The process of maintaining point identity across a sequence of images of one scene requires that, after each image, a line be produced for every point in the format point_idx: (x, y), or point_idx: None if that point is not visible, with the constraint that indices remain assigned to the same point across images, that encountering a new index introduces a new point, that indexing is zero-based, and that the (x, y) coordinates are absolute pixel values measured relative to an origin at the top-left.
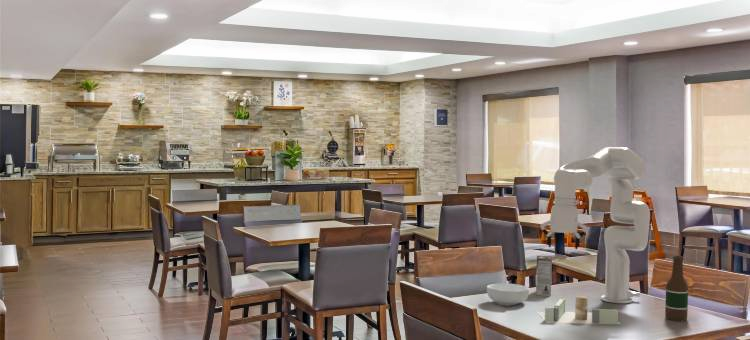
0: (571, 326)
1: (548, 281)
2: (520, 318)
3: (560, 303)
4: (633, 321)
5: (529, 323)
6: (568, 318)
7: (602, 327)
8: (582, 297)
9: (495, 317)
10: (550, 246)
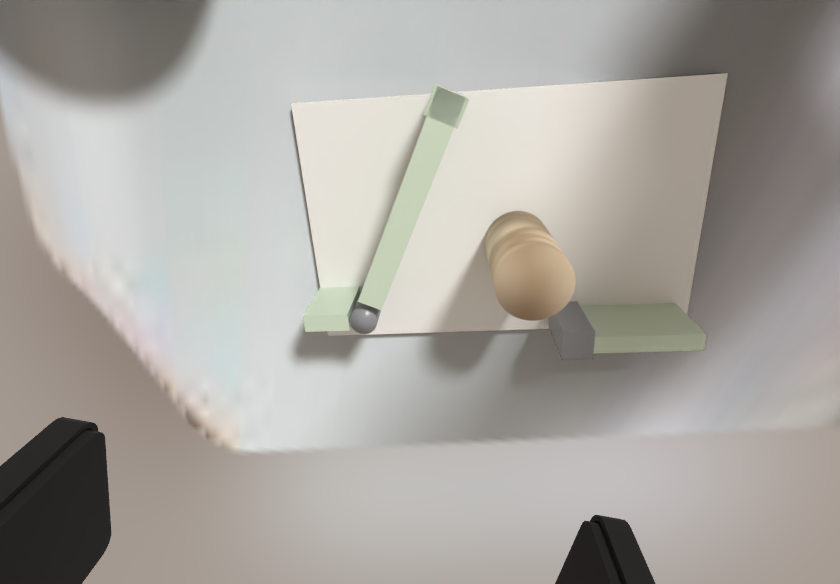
0: (433, 351)
1: None
2: (207, 230)
3: (401, 252)
4: (796, 240)
5: (249, 317)
6: (447, 246)
7: None
8: (538, 288)
9: (83, 222)
10: (95, 553)
